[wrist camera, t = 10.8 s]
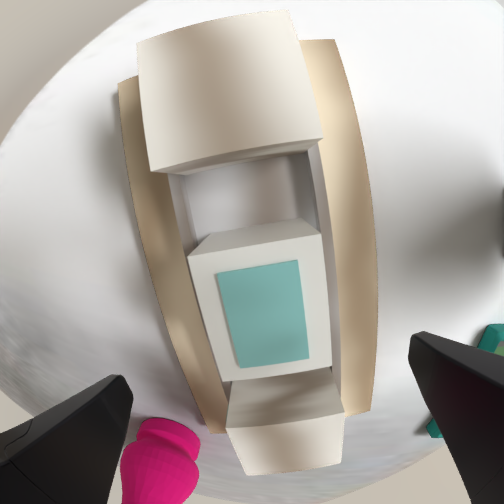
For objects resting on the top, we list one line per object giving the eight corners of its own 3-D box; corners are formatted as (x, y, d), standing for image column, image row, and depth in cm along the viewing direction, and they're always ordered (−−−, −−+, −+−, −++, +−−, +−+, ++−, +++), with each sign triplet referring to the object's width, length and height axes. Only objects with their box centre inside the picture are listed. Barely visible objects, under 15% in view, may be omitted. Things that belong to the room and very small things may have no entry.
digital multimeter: (420, 429, 22) (429, 445, 19) (485, 320, 18) (502, 333, 15) (457, 421, 22) (466, 434, 19) (515, 323, 18) (529, 334, 15)
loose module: (301, 217, 15) (322, 234, 10) (313, 316, 16) (332, 367, 11) (210, 233, 15) (186, 257, 10) (232, 329, 16) (222, 383, 11)
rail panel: (330, 46, 13) (360, -9, 7) (367, 403, 20) (389, 457, 13) (124, 87, 14) (68, 54, 8) (212, 425, 21) (200, 483, 14)
